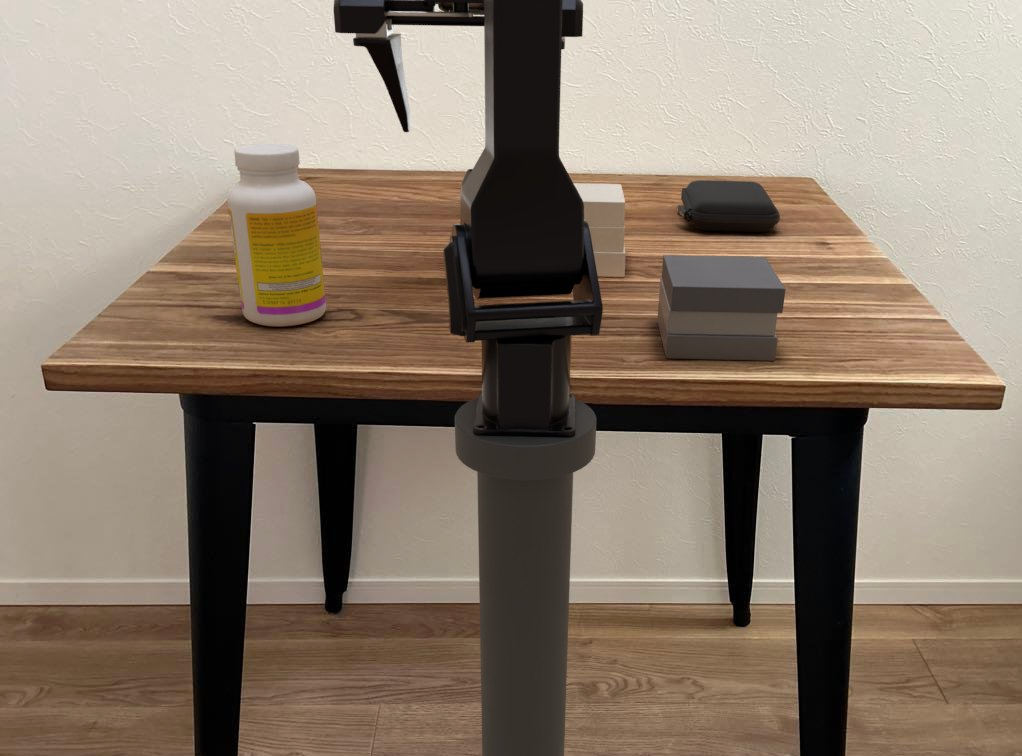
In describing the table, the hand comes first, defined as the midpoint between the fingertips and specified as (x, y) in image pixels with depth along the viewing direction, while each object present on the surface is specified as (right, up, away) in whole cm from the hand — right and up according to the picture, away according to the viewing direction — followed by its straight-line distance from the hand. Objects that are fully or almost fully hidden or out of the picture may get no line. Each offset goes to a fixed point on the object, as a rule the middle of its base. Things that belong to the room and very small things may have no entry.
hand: (463, 132), depth 85 cm
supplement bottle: (-14, -15, 0) cm, 21 cm away
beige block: (+11, -7, +15) cm, 20 cm away
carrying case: (+26, +2, +31) cm, 41 cm away
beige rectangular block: (+11, -3, +12) cm, 17 cm away
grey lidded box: (+20, -18, -4) cm, 27 cm away
